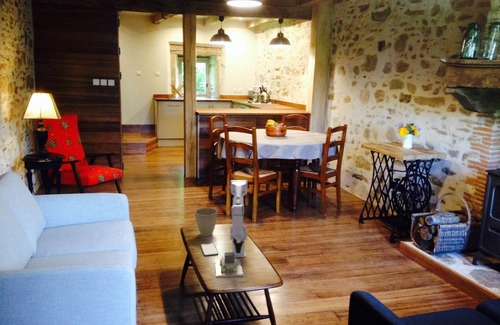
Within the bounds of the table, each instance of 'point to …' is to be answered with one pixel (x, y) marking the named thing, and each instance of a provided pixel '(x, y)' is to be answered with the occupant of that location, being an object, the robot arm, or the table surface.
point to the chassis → (228, 270)
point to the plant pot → (206, 220)
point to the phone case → (209, 249)
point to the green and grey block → (229, 260)
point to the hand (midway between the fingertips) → (237, 250)
